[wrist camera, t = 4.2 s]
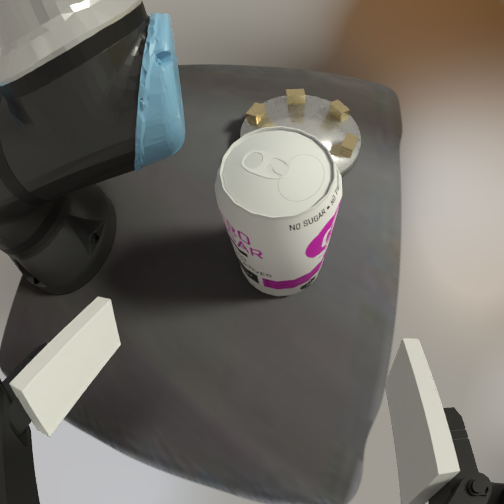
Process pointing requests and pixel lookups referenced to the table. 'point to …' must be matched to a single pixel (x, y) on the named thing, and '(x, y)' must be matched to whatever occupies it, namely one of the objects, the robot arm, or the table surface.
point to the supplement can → (279, 206)
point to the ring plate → (310, 123)
